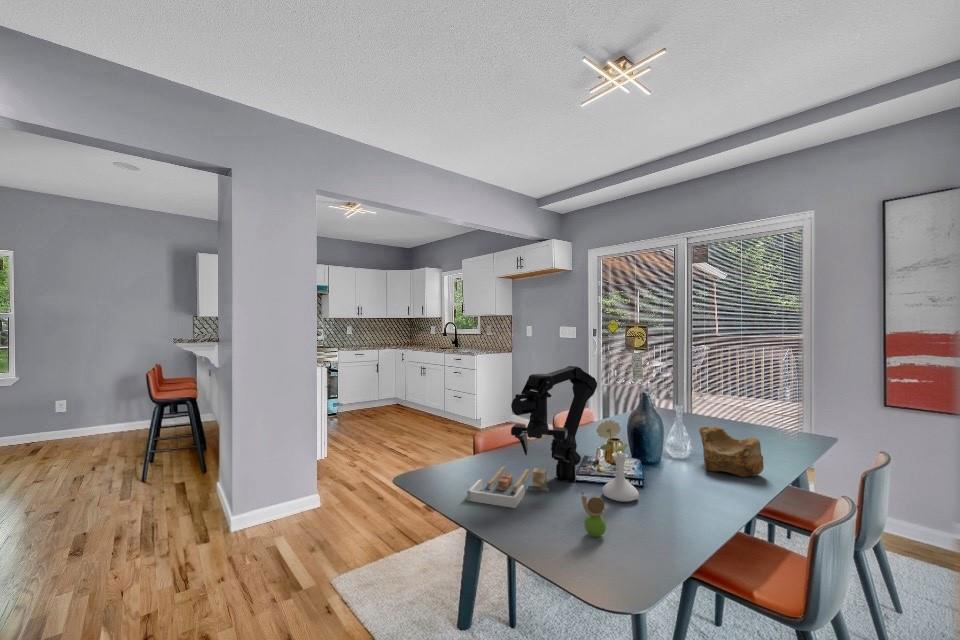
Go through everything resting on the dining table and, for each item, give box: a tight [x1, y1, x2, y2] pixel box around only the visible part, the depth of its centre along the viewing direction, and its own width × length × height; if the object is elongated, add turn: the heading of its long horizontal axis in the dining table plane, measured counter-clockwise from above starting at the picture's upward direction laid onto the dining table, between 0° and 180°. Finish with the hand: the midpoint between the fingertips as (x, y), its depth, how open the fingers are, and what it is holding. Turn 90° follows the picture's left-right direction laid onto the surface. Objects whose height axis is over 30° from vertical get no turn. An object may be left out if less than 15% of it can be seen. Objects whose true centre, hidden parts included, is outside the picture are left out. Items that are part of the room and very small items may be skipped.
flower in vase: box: [595, 419, 640, 503], centre depth 135 cm, size 13×11×25 cm
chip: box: [497, 477, 510, 491], centre depth 143 cm, size 3×3×3 cm
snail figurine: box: [580, 490, 607, 538], centre depth 111 cm, size 5×6×12 cm
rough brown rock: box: [698, 426, 765, 478], centre depth 159 cm, size 23×16×15 cm
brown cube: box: [501, 473, 513, 487], centre depth 147 cm, size 3×3×3 cm
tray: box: [466, 478, 526, 509], centre depth 136 cm, size 16×11×3 cm
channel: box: [486, 465, 530, 494], centre depth 149 cm, size 10×18×2 cm, turn 159°
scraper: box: [527, 467, 550, 493], centre depth 143 cm, size 7×5×6 cm, turn 69°
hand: (539, 456), depth 143 cm, fingers open, 9 cm apart
